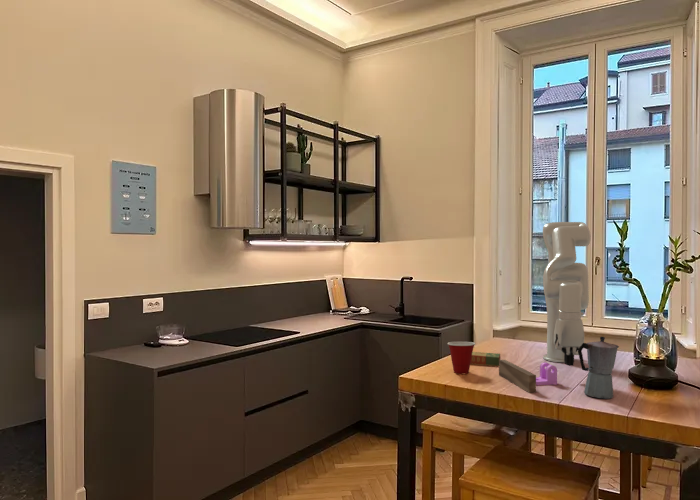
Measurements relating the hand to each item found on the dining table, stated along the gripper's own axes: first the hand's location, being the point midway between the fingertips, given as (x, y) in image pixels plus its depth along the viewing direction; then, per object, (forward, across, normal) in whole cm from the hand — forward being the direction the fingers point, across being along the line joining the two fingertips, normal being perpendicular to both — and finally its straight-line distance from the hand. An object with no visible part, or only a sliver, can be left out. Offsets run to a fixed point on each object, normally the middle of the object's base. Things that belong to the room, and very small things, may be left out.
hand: (569, 364), depth 201 cm
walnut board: (+6, +21, +1) cm, 22 cm away
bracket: (+6, +14, +1) cm, 15 cm away
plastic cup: (+6, +35, -18) cm, 40 cm away
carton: (+7, +21, -32) cm, 39 cm away
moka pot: (+6, +1, +20) cm, 21 cm away
